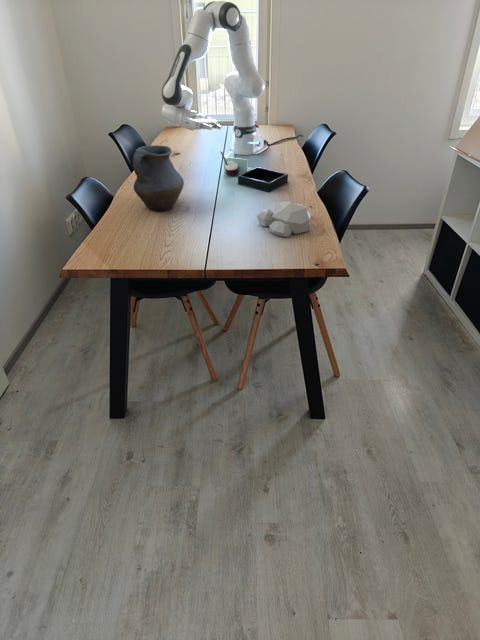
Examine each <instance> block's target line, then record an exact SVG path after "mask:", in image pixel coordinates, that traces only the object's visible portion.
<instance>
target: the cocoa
mask: <svg viewBox="0 0 480 640" xmlns="http://www.w3.org/2000/svg"><path fill="white" fill-rule="evenodd" d="M220 154H221V156H222V159H223V162H224V161H225V163H226V166H225V167H226V173H225V174H226V175H227V176H229V177H236V176H238V175H239V174H238V173H239V172H238V168H239V167H238V164H236V163H235V162H233V161H228V162H226V160H225V155H224V153H223V151H220Z"/></svg>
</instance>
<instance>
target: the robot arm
mask: <svg viewBox="0 0 480 640" xmlns="http://www.w3.org/2000/svg"><path fill="white" fill-rule="evenodd" d="M193 13H194V14H193V16H192V17H191V20H190V22H189V25H188V28H187V31H186V34H185V38H184V40H183V43H182V45H181V46H180V47H179V49H178V51H177V52H176V55H175V58H174V61H173V64H172V66H171V68H170V70H169V71H170V72H169V75H168V77H167V79H166V80H165V81H164V83H163V85H162V88H161V98H162V100H163V102H164V104H163V105H162V108H161V117H162V118H163V120H164V121H166V122H167V123H169V124H171V125H173V126H177V127H182V128H183V129H186V130H189V131H196V130H209V131H212V130H222V125H220V124H218V121H217V120H216V119H214V118H211V117H209V116H206V115H205V114H204V113H200V112H198V111H196V110H193V109H192V106H193V104H194V93H193V91H192V89H190V88H189V87H187V86H185V85H183V84H182V82H183V79H184V77H185V74H186V71H187V68H188V66H189V65H190V64H191V63H192V62H195V61H200V60H202V59H203V58H204V57H205V56H206V54H207V53H208V52H207V51H208V50H209V48H210V44H211V40H212V39H211V38H212V35H213V33H214V32H215V30H218V31H225V33H226V35H227V36H226V37H227V44H228V45H227V46H228V50H229V51H228V52H229V60H230V63H231V65H233V66H234V68H235V69H236V71H232V72H230V73H228V74H226V76H225V78H224V89H225V91H226V92H227V93H228V94H229V97H230V100H231V103H232V107H233V119H234V120H233V122H234V123H233V128H232V130H233V132H234V133H232V139H231V147H230V150H231V151H234V155H239V156H240V155H241V156H249V155H250V156H251V155H260V154H261V153H262V152H264V151H265V150H267V149H268V148H269V146H273V145H275V144H279V143H280V142H283V141H286V140H294V139H298V138H299V137H301V138H303V137H304V135H303V134H297V136H291V137H285V138H281V139H279V140H276V141H274V142H272V143H269V141H267V139H264V137H263V135H261V134H260V133H259V132H258V130H257V129H259V128H260V124H257V123H256V121H255V118H256V117H255V116H256V113H255V112H256V110H255V107H254V106H253V105H252V102H251V99H258V98H261V97H262V96H263V95H264V93H265V90H266V83H265V80H264V78H263V77H262V76H261V75H260V73H259V71H258V69H257V66H256V63H255V60H254V56H253V50H252V40H251V33H250V27H249V23H248V20H247V18H246V17H245V16H244V15H243V14H241V11H240V9H239V7H238V6H237V5H236V4H235V3H234V2H231V1H226V0H219V1H218V0H217V1H210V2H208V3H207V4H206V5H205V6H204V7H203V9H197V10H195V12H193Z"/></svg>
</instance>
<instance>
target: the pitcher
mask: <svg viewBox="0 0 480 640" xmlns="http://www.w3.org/2000/svg"><path fill="white" fill-rule="evenodd" d="M172 153H173V151H172V149H171V147H169V146H168V145H143V146H140V147H138V148H137V149H135V152H134V153H133V154H132V155H133V156H132V168H133V172H134V173H135V176H136V178H135V181H133V191H134V192H135V194H136V195H137V197H138V198H139V199H140V200H141V201H142V202H143V204H144V205H145V207H146V208H147V209H149V210H151V211H155V212H165V211H169V210H170V209H173V208H174V206H175V205H176V203H177V201H178V200H179V198H180V195H181V193H182V191H183V188H184V185H185V181H184V178H183V177H182V175H181V174H180V172H178V171H177V169H176V168H175V166H174V164H173V162H172V160H171V158H170V155H171V154H172Z"/></svg>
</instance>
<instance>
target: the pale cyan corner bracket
mask: <svg viewBox="0 0 480 640" xmlns="http://www.w3.org/2000/svg"><path fill="white" fill-rule="evenodd" d="M224 157H225V160H226V162H228V161H233V162H235V163H236V164H238V167H239V168H238V172H239V173H238V174H237V175H240V174H243V173H245V172H247V171H249V170H252V169H254V168H255V167H251V166H248V165H249V160H248V159H249V158H241V157H235V153H234V151H232V150H231V151H229V152H228V153H227V154H226V155H224ZM225 166H226V163H225V161H224V160H223V173H224V174H227V173H226V167H225Z"/></svg>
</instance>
